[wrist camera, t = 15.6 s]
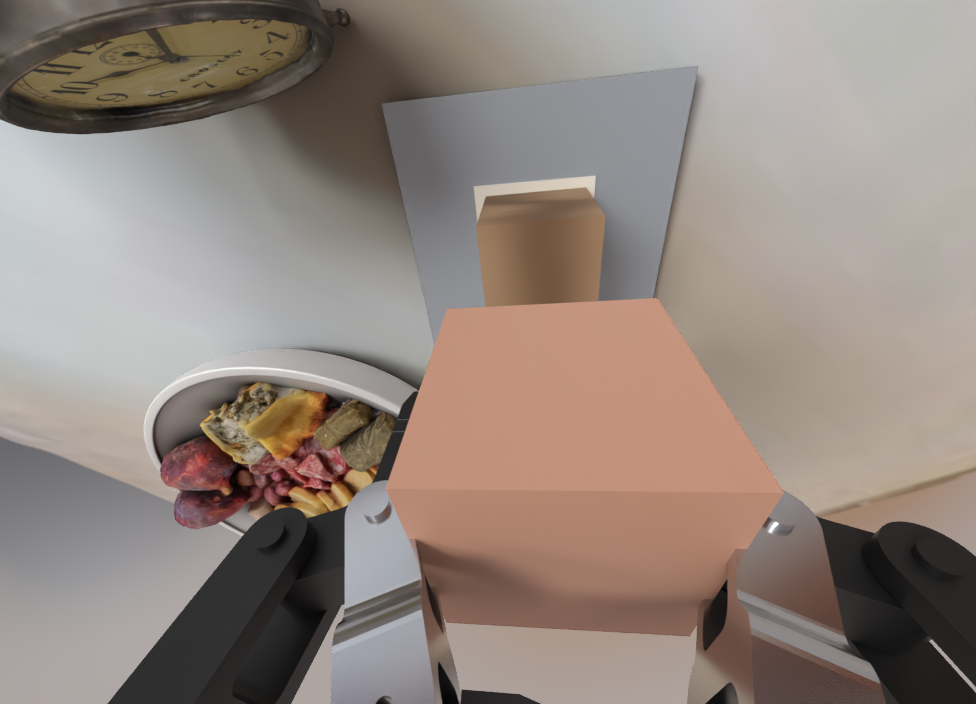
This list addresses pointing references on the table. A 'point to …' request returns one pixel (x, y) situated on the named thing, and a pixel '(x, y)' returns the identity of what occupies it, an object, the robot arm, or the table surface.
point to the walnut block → (540, 247)
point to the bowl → (271, 434)
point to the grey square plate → (541, 171)
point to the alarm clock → (152, 59)
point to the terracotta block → (575, 470)
